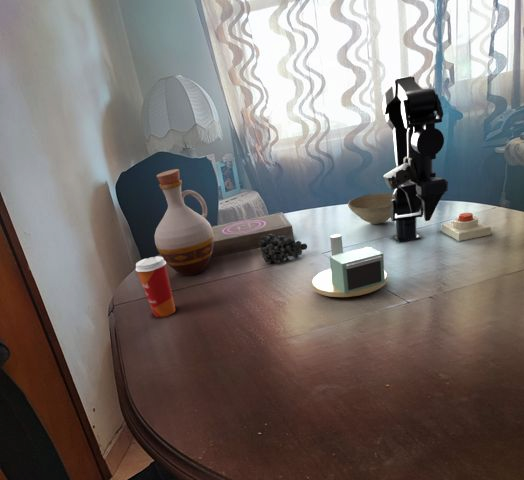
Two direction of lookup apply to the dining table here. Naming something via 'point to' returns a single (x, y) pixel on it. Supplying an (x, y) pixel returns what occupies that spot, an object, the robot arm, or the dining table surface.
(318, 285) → the round platter with block
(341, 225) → the dining table surface
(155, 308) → the paper cup
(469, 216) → the button
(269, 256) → the fruit
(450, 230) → the box
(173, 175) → the jug
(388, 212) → the bowl
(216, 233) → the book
